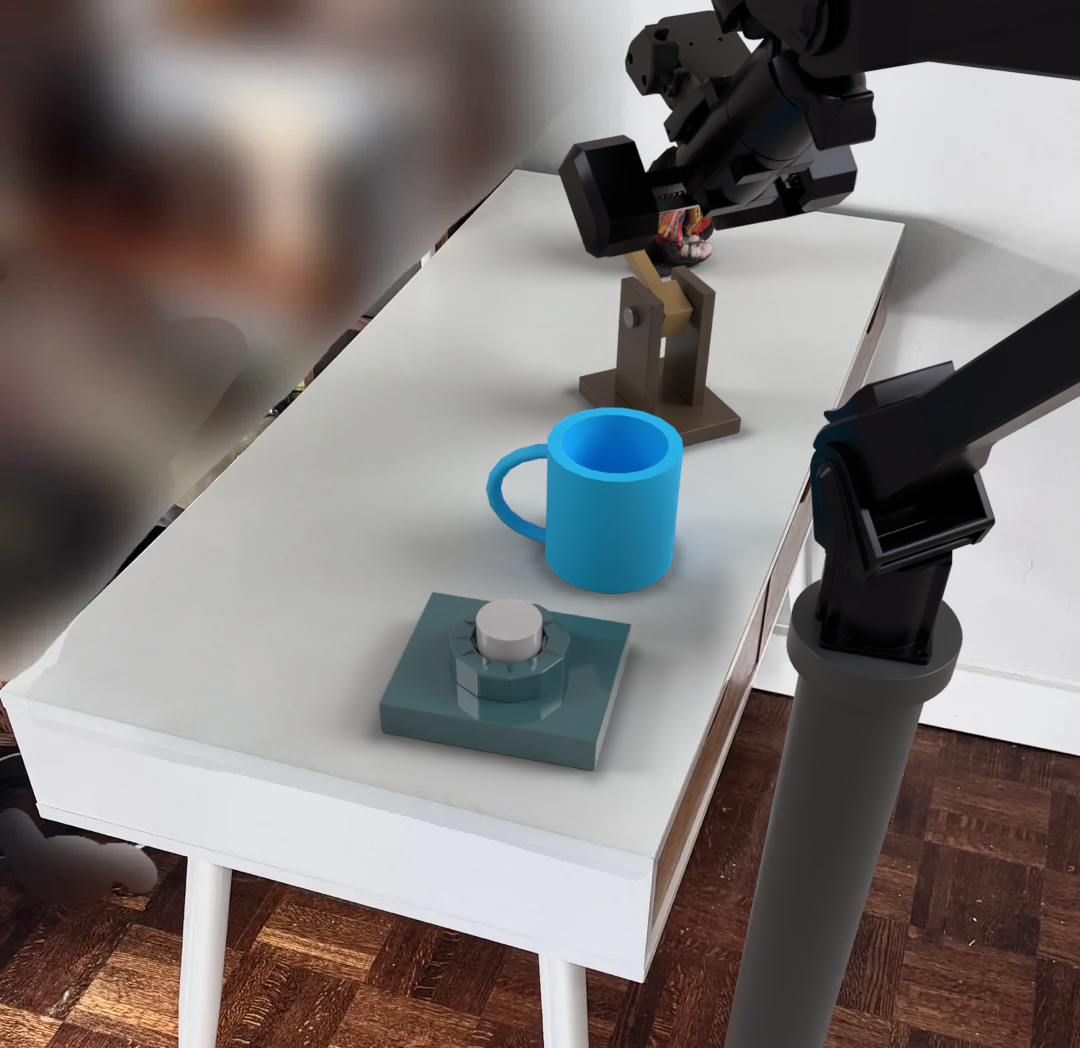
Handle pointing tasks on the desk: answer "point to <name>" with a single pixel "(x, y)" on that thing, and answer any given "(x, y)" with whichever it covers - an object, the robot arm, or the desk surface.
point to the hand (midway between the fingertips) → (656, 236)
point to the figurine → (679, 230)
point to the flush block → (508, 686)
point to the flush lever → (662, 294)
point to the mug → (603, 498)
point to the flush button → (509, 630)
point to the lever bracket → (664, 363)
